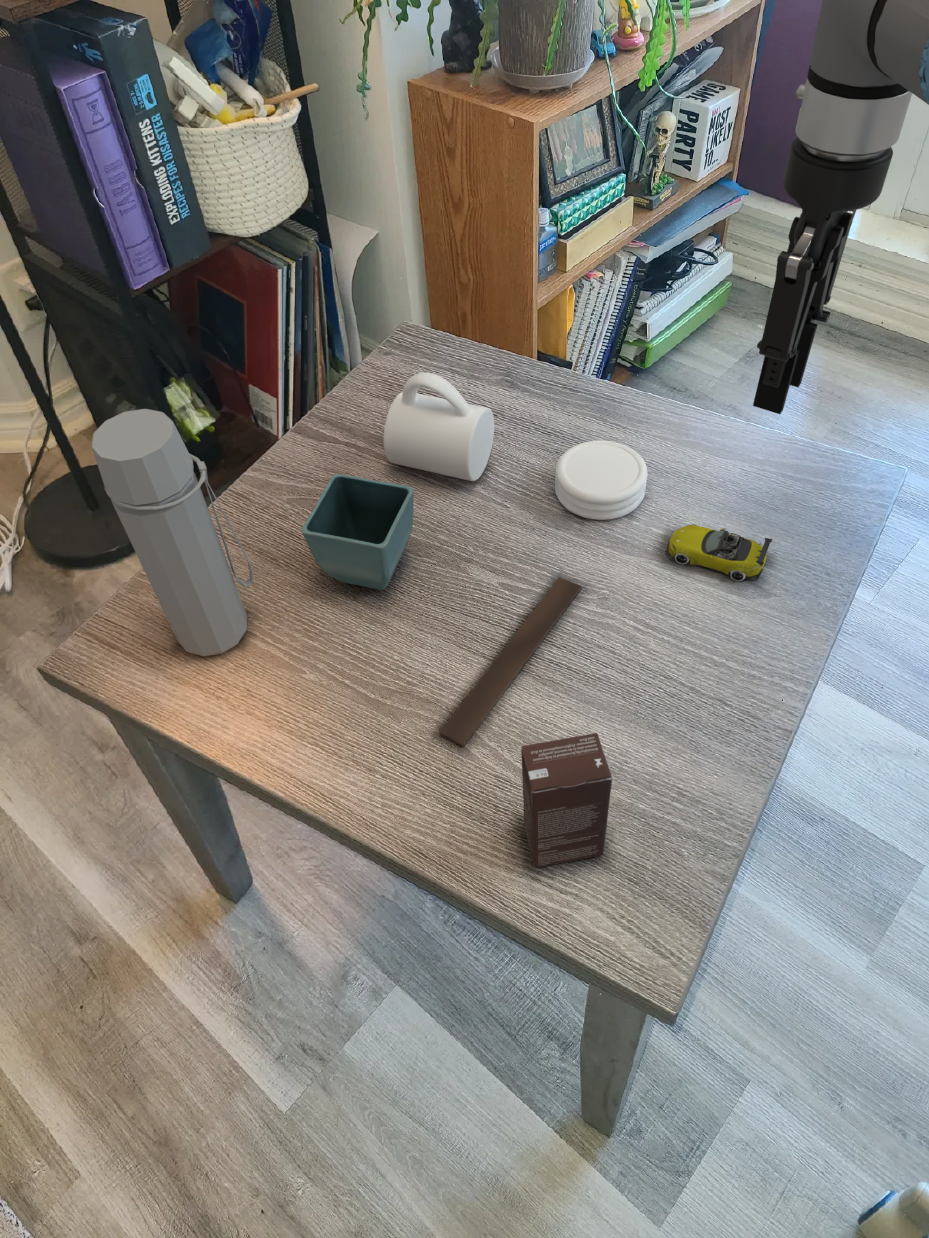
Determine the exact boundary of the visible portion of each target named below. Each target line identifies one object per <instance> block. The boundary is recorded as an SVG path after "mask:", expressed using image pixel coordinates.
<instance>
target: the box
mask: <svg viewBox="0 0 929 1238" xmlns="http://www.w3.org/2000/svg"><path fill="white" fill-rule="evenodd" d="M521 770H522V771H521V776H522V798H523V825H524V831H525V834H526V838H527V843H528V848H529V851H530V852H529V853H530V856H531V861H532V865H533V867H534V868H540V867H546V866H552V865H557V864H562V863H569V862H574V861H580V860H585V859H590V858H596V857H601V856H604V851H605V842H606V837H607V836H606V834H607V826H608V817H609V810H610V799H611V792H612V784H613V776H612V773H611V770H610V766H609V764H608V761H607V757H606V755H605V752H604V749H603V746H602V742H601V740H600V736H599V734H598V733H597V732H595V733H589V734H583V735H576V736H571V737H566V738H561V739H556V740H555V739H554V740H549V741H543V742H537V743H532V744H525V745H521Z"/></svg>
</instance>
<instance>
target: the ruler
mask: <svg viewBox="0 0 929 1238" xmlns="http://www.w3.org/2000/svg"><path fill="white" fill-rule="evenodd" d="M582 587H583V586H582V585H579V584H577V583H575V582H573V581H570V580H569V579H565V578H563V577H561V576H558V578H557V579H556V580H555V582H554V583H553V584H552V585H551V587H550V588H549V590H548V591H547V592H546V593H545V595H544V596H543V598H542V599H541V600H540V601H539V602H538V604H537V605H536V606H535V608H534V609H533V610H532V611H531V613H530V614H529V615H528V617H527V618H526V619H525V621H524V622H523V623H522V625H521V626H520V627H519V629H518V630H517V631H516V632H515V634H514V635H513V636H512V637H511V639H510V640H509V642H508V643H506V645H505V646H504V648H503V649H502V651H500V653H499V654H498V656H497V657H496V658H495V659H494V661H493V662H492V663H491V664H490V666H489V667H488V668H487V670H486V671H485V672H484V673H483V675H482V676H481V678H480V679H479V680H478V681H477V682H476V684H475V685H474V686H473V688H472V689H471V690H470V692H469V693H468V694H467V696H466V697H465V698H464V699H463V700H462V702H461V703H460V705H459V706H458V707H457V708H456V710H455V711H454V712H453V714H452V715H451V716H450V718H448V719H447V721H446V723H445V724H444V725H443V726H442V728H441V729H440V730H439V732H438V735H439V736H440V737H443V739H444V738H445V739H447V740H448V741H450V742H452V743H454V744H455V745H458V746H460V747H461V748H465V747H466V745H467V744H468V742H469V741H470V740H471V739H472V737H473V736H474V734H475V733H476V731H477V730H478V729H479V727H480V726H481V725H482V724H483V722H484V721H485V719H486V718H487V717H488V715H489V714H491V711H492V710H493V709H494V707H495V706H496V705H497V704H498V702H499V701H500V700H501V698H502V697H503V695H504V694H505V693H506V691H507V690H508V688H509V687H510V686H511V685H512V683H513V682H514V680H515V679H516V678H517V677H518V676H519V674H520V672H522V671H523V668H524V667H525V666H526V664H527V663H528V662H529V661H530V659H531V658H532V657H533V655H534V654H535V652H537V650H538V649H539V648H540V646H541V644H542V643H543V642H544V640H545V639H546V638H547V636H548V635H549V634H550V632H551V631H552V629H553V628H554V627H555V626H556V624H557V622H559V620H560V619H561V617H562V616H563V615H564V614H565V612H566V611H567V609H568V608H569V607H570V606H571V604H572V603H573V601H574V600H575V599H576V598H577V596H578V595H579V593H580V592H581V591H582Z"/></svg>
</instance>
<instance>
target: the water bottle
mask: <svg viewBox="0 0 929 1238" xmlns="http://www.w3.org/2000/svg"><path fill="white" fill-rule="evenodd" d="M91 450H92V452H93V456H94V458H95V461H96V465H97V468H98V470H99V474H100V477H101V480H102V483H103V487H104V491H105V492H106V495H107V496H108V497H109V498H110V501H111V503H112V505H113V508H114V511H115V512H116V514H117V516H118V518H119V520H120V522H121V525H122V526H123V529H124V531H125V533H126V535H127V537H128V539H129V541H130V543H131V546H132V548H133V551H134V552H135V554H136V556H137V558H138V560H139V563H140V565H141V567H142V569H143V571H144V573H145V575H146V577H147V580H148V582H149V584H150V586H151V588H152V590H153V592H154V594H155V597H156V599H157V601H158V603H159V605H160V607H161V609H162V612H163V613H164V615H165V618H166V620H167V623H168V624H169V626H170V628H171V630H172V632H173V635H174V636H175V639H176V641H177V642H178V643H179V645H180V646H181V647H182V648H183V649H184V650H185V652H187V653H190V654H194V655H197V656H201V657H208V656H215V655H222V654H224V653H226V652H227V651H229V650H231V649H232V648H235V647H236V646H237V645H238V644H239V642H240V641H241V640H242V638H243V636H244V634H245V633H246V632H247V630H248V614H247V612H246V609H245V606H244V603H243V601H242V598H241V595H240V592H239V589H238V587H237V585H236V582H237V584H239V585H240V586H241V587H244V588H247V587H250V586H252V585H254V572H253V567H252V564H251V561H250V559H249V557H248V554H247V553H246V551H245V550H244V548H243V546H242V544H241V542H240V540H239V538H238V536H237V534H236V532H235V530H234V529H233V526H232V525H231V523H230V521H229V519H228V517H227V515H226V513H225V512H224V510H223V508H222V505H221V504H220V502H219V499H218V498H217V496H216V494H215V493H214V491H213V489H212V487H211V484H210V483H209V479H208V468H207V466H206V463H205V461H204V460H203V461H201V460H200V459H199V457H197V456H196V455H193V454H191V453H189V451H188V448H187V447H186V445H185V442H184V441H183V439H182V436H181V434H180V433H179V431H178V429H177V426H176V424H175V423H174V421H173V420H172V419H171V418H170V417H169V416H168V415H167V414H165V413H164V412H163V411H159V410H154V409H149V408H141V409H134V410H128V411H123V412H121V413H119V414H116V415H115V416H113V417H111V418H108V419H106V420H105V421H103V423H102V424H101V425H100V426H99V427H98V428H97V429H96V430H95V431H94V432H93V434H92V441H91ZM194 462H195V464H196V465H197V468H198V471H199V475H200V478H199V480H198V477H197V474H196V472H194ZM203 484H205V488H206V492H207V493H208V494H207V495H208V497H209V500H210V504H211V507H212V511H213V513H214V517H215V521H216V524H217V526H218V530H219V534H220V536H221V540H222V542H223V546H224V549H225V550H224V549H223V546H222V543H221V541H220V538H219V534H218V532H217V530H216V526H215V525H214V521H213V518H212V516H211V513H210V510H209V507H208V505H207V502H206V499H205V497H204V493H203V491H202V489H201V487H202V485H203ZM209 489H210V490H209ZM211 493H212V495H213V497H214V500H215V502H216V503H217V505H218V507H219V509H220V511H221V513H222V515H223V517H224V519H225V522H226V523H227V524H228V526H229V529H230V531H231V532H232V534H233V537H234V538H235V540H236V542H237V544H238V546H239V548H240V549H241V552H242V553H243V555H244V558H245V560H246V562H247V566H248V570H249V579H247V580H245V581H244V580H242V579H240V578H239V577H238V576H237V573H236V570H235V566H234V564H233V561H232V557H231V555H230V552H229V547H228V545H227V542H226V539H225V536H224V533H223V529H222V526H221V523H220V520H219V517H218V514H217V511H216V509H215V505H214V502H213V499H212V495H211ZM224 551H225V552H224ZM225 553H226V554H225ZM226 556H227V557H226ZM227 559H228V560H227ZM234 578H235V579H234ZM235 581H236V582H235Z"/></svg>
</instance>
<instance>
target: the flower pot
mask: <svg viewBox="0 0 929 1238" xmlns="http://www.w3.org/2000/svg"><path fill="white" fill-rule="evenodd" d="M414 493H415V489H414V487H412V486H409V485H406V484H400V483H395V482H394V483H393V482H387V481H380V480H374V479H369V478H365V477H364V478H363V477H361V476H354V475H349V474H342V473H334V474H332V476H331V477H330V478H329V481H328V482H327V484H326V486H325V487H324V490H323V491H322V493H321V495H320V497H319V498H318V500H317V502H316V504H315V506H314V507H313V509H312V510H311V512H310V514H309V516H308V517H307V519H306V521H305V522H304V524H303V525H302V527H301V534H302V536H303V538H304V540H305V543H306V544H307V547H308V548H309V551H310V553H311V555H312V556H313V558H314V561H315V562H316V564H317V565H318V566H319V567H320V569H321V570H322V571H323V572H324V573H325V574H327V575H328V576H330V577H331V578H333V579H335V580H337V581H339V582H340V583H343V584H349V585H355V586H360V587H364V588H368V589H372V590H373V589H374V590H379V591H382V590H385V589H386V588H387V587H388V585H389V583H390V581H391V579H392V577H393V575H394V572H395V570H396V569H397V567H398V564H399V562H400V559H402V558H401V557H402V555H403V553H404V551H405V549H406V547H407V545H408V543H409V540H410V537H411V533H412V530H413V529H412V528H413V524H414V523H413V522H414V500H415V499H414V497H415V496H414Z"/></svg>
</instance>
